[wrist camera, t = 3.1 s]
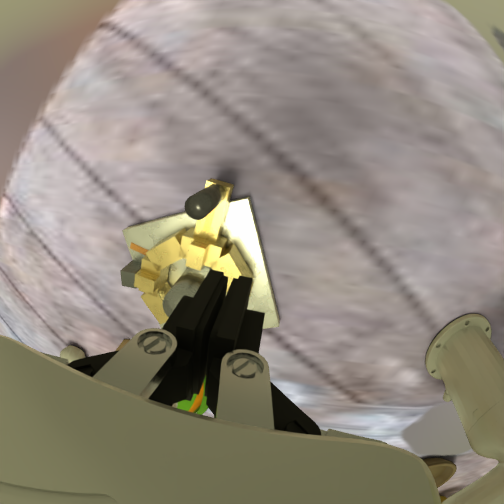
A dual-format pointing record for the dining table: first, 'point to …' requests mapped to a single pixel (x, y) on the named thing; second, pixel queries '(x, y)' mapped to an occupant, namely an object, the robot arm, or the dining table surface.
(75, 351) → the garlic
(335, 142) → the dining table surface
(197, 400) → the corn
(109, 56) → the dining table surface
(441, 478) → the plant saucer
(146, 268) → the tan angular piece
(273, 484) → the robot arm
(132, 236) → the housing plate
